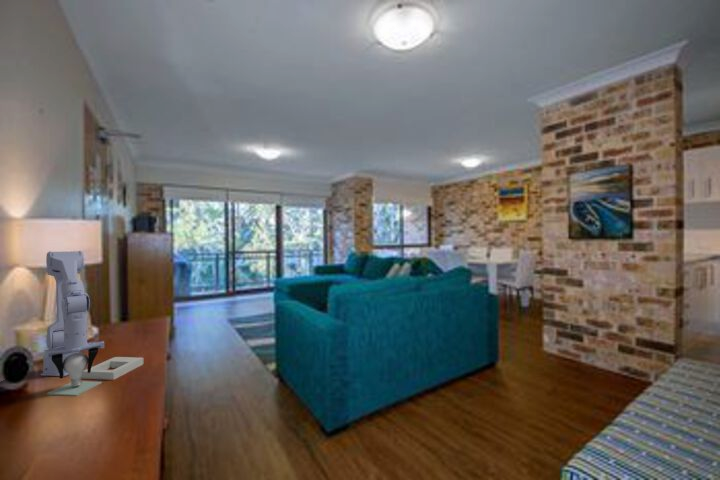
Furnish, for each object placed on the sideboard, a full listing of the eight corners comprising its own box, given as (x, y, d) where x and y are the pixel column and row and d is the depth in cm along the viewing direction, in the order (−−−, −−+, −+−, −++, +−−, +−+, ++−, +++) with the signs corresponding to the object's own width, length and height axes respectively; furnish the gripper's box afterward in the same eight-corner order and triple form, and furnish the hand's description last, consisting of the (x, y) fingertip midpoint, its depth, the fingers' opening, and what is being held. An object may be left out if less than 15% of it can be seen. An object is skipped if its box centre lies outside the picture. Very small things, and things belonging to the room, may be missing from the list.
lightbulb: (71, 392, 102) (70, 357, 101) (58, 389, 104) (57, 355, 103) (93, 383, 108) (92, 350, 107) (80, 380, 110) (79, 348, 109)
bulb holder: (82, 378, 112) (82, 371, 112) (115, 363, 126) (115, 356, 126) (113, 379, 112) (113, 372, 112) (143, 364, 126) (143, 357, 126)
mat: (46, 394, 101) (46, 393, 101) (74, 381, 110) (74, 380, 110) (76, 395, 100) (76, 394, 100) (101, 383, 109) (101, 381, 109)
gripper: (43, 340, 97) (43, 385, 97) (104, 331, 107) (104, 372, 107) (45, 334, 102) (45, 377, 102) (103, 326, 112) (103, 365, 112)
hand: (75, 374), depth 105 cm, fingers closed on lightbulb, 6 cm apart
